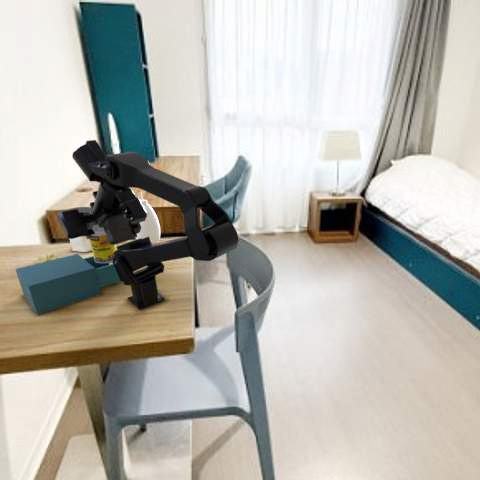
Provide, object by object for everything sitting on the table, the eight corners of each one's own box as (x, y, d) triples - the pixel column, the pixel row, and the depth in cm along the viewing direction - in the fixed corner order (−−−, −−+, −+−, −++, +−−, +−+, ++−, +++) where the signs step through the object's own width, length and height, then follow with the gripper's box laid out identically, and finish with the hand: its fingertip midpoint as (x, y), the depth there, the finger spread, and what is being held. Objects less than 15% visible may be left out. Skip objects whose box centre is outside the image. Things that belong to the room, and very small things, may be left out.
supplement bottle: (91, 265, 90) (82, 225, 86) (98, 256, 95) (89, 218, 91) (115, 264, 91) (107, 224, 86) (120, 255, 96) (113, 217, 91)
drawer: (132, 262, 103) (129, 245, 101) (149, 274, 97) (146, 255, 94) (69, 280, 93) (63, 261, 91) (83, 295, 86) (78, 275, 84)
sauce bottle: (132, 247, 116) (122, 191, 108) (155, 242, 121) (147, 187, 113) (143, 255, 111) (133, 196, 103) (166, 248, 115) (159, 191, 107)
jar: (108, 244, 118) (100, 207, 113) (90, 253, 111) (82, 215, 106) (84, 241, 120) (76, 205, 115) (65, 250, 113) (56, 212, 108)
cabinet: (83, 278, 96) (77, 253, 93) (100, 294, 89) (94, 267, 85) (24, 295, 88) (15, 269, 84) (37, 314, 80) (28, 286, 77)
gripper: (84, 239, 72) (74, 273, 84) (166, 218, 85) (148, 251, 96) (58, 193, 74) (52, 233, 85) (143, 179, 86) (128, 216, 97)
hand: (98, 234), depth 91 cm, fingers closed on supplement bottle, 5 cm apart
